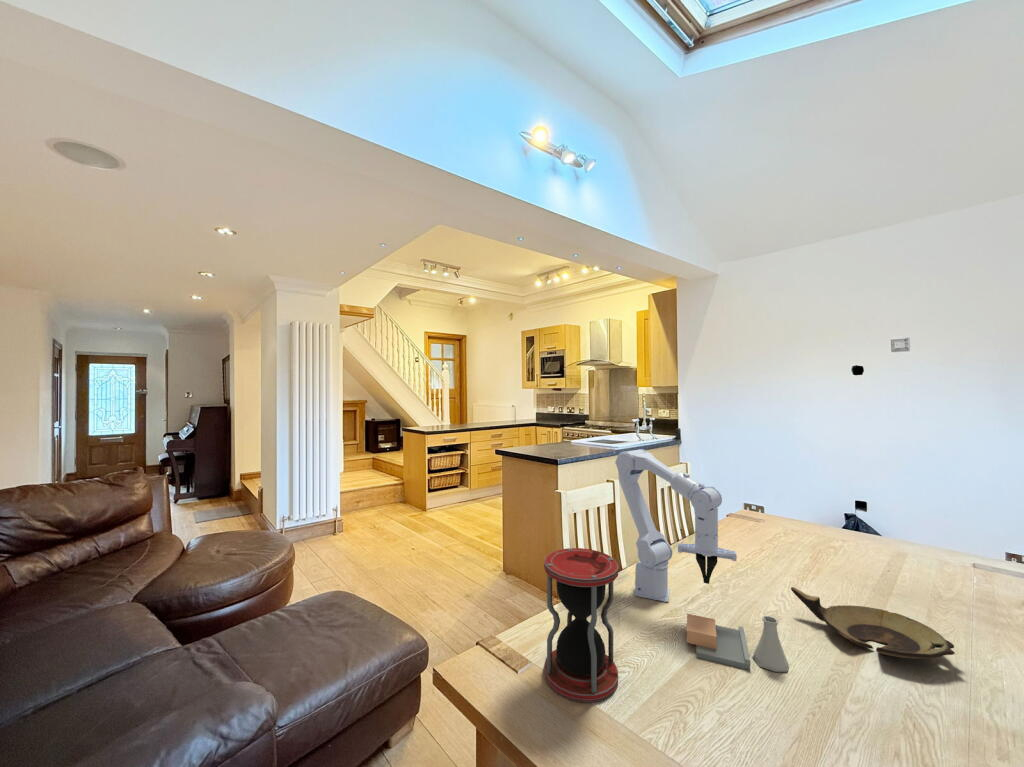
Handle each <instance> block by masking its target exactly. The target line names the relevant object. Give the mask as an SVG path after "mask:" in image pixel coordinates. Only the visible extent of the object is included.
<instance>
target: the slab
mask: <svg viewBox="0 0 1024 767" xmlns="http://www.w3.org/2000/svg"><path fill="white" fill-rule="evenodd" d="M715 625H716V619H715V618H711V617H710V618H709V617H705V616H700V615H696V614H691V613H687V614H686V643H688V644H691V645H700V646H704V647H708V648H712V649H717V636H716V626H715Z"/></svg>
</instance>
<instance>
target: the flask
mask: <svg viewBox="0 0 1024 767" xmlns="http://www.w3.org/2000/svg"><path fill="white" fill-rule="evenodd" d="M762 621H763V629H762V633H761V636H760V638H759V640H758V643H757V645H756V647H755V649H754V651H753V656H752V659H753V660H754V661H755V663H756V664H757V665H758V667H761V668H763V669H767V670H769V671H772V672H775V673H777V672H781V673H785V672H788V670H789V666H790V665H789V663H788V659H787V657H786V654H785V652H784V649H783V646H782V643H781V640H780V637H779V634H778V633H779V632H778V625H779V620H778V619H777V618H776V617H775V616H771V615H762Z"/></svg>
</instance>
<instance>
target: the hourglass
mask: <svg viewBox="0 0 1024 767" xmlns="http://www.w3.org/2000/svg"><path fill="white" fill-rule="evenodd" d="M543 562H544V563H543V568H544V571H545V573H546V574H547V577H546V583H547V584H546V587H547V588H546V591H547V592H546V594H547V595H546V598H547V599H546V607H547V608H548V611H549V612H550V614H551V615H552V618H553V626H552V628H551V630H550V631H549V633H548V635H547V638H546V657H545V661H544V664H543V674H544V679H545V681H546V682H547V684H548V686H549V687H550V688H551V690H553V691H555V693H557V694H558V695H559V696H561V697H563V698H566V699H568V700H570V701H573V702H579V703H597V702H600V701H603V700H605V699H607V698H609V697H610V696H611V695H613V694H614V693H615V692H616V690H617V688H618V686H619V670H618V668H617V665H616V662H614V630H613V626H612V624H611V623H610V622H609V621H608V612H609V609H610V608H611V606H612V604H613V601H614V581H615V580H616V579H617V578H618V577H619V563H618V562H617V561H616V559H615V558H613V557H612V556H610V555H608V554H606V553H604V552H602V551H599V550H595V549H591V548H583V547H582V548H581V547H568V548H563V549H562V548H561V549H557V550H555V551H552V552H550V553H549V554H547V555H546V556H545V559H544V561H543ZM553 580H555V581H556V584H555V585H556V592H557V595H558V598H559V601H560V602H561V604H562V605H563V607H565V608H566V610H568V612H567V614H566V615H567V616H566V617H567V618H566V626H565V627H564V628H562V629H561V632H559V635H558V638H557V642H556V648H555V649H554V650H553V640H554V637H555V635H556V634H557V632H558V631H559V628H560V624H561V618H560V615H559V613H558V611H556V610H555V606H554V605H553ZM607 585H608V591H607V592H608V597H607V599H606V602H605V603H604V600H605V596H606V588H607V587H606V586H607ZM603 603H604V605H603V606H602V604H603ZM601 606H602V608H601V612H600V619H601V622H602V624H603V625H604V627H605V628H606V630H607V632H608V633H607V634H608V636H607V637H608V638H607V639H608V644H607V645H608V647H607V648H608V649H607V651H608V652H607V653H608V655H607V654H606V646H605V645H606V644H605V643H604V641H603V639H602V636H601V634H600V633H599V631H598V630H597V629H596V626H597V622H598V620H597V618H598V617H597V616H598V614H597V613H598V612H597V611H598V609H599V608H600V607H601ZM590 616H591V618H590V622H589V621H588V618H589V617H590ZM573 617H574V619H573Z"/></svg>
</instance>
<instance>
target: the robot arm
mask: <svg viewBox="0 0 1024 767" xmlns="http://www.w3.org/2000/svg"><path fill="white" fill-rule="evenodd" d="M614 464H615V465H616V469H617V471H618V473H617V474H618V482H619V484H620V487H621V490H622V493H623V495H624V498H625V500H626V502H627V506H628V508H629V511H630V515H631V517H632V520H633V522H634V524H635V525H634V526H635V527H636V529H637V532H638V538H637V539H636V542H635V545H636V548H637V558H638V560H639V561H636V564H635V572H634V574H635V575H634V578H635V579H634V587H635V592H634V596H636V597H640V598H645V599H650V600H655V601H659V602H665V603H668V602H669V598H670V588H669V584H668V583H669V581H668V576H669V575H668V573H669V571H668V570H669V569H668V568H669V566H668V565H669V561H670V559H672V557H673V549H672V547H671V545H670V543H669V542H668V541H667V539H666V538H665V534H663V533H661V532H660V531H659V530H657V528H656V526H655V523H654V521H653V518H652V514H651V512H650V510H649V507H648V504H647V502H646V500H645V497H644V495H643V492H642V489H641V487H640V484H639V481H638V480H639V479H640V476H641V474H643V473H644V471H648V472H650V473H652V474H654V475H656V476H658V477H659V478H661V479H662V480H664V481H666V482H668V483H669V485H670V488H671V489H672V490H673V491H675V492H676V493H677V494H679V495H680V496H682V497H684V498H685V499H687V500H688V501H690V503H691V506H692V507H693V509H694V543H680V542H678V543H677V553H680V554H682V553H688V554H693V555H695V560H696V562H697V564H698V567H699V569H700V572H701V575H702V579H703V584H708V585H710V581H711V576H712V574H713V571H714V569H715V568H716V566H717V564H718V558H720V559H725V560H731V561H733V562H737V561H738V560H737V556H738V554H737V551H735V550H730V549H725V548H721V547H719V507H720V506H721V505H722V502H723V497H722V494H721V492H719V490H717V489H716V488H715V487H714V486H706V485H705V483H702V482H699V481H698V480H696V479H694V478H693V477H691V474H689V473H688V472H685V473H684V472H682V471H681V472H678V473H676V471H674V470H672V469H671V468H670V467H668V466H667V465H666V464H664V463H663V462H662V461H660V460H658V459H657V458H656V457H654V456H653V454H652V453H651V452H649V451H647V450H646V449H644V448H639V449H634V450H627V451H621V452H619V453H618V455H617V457H616V459H615V461H614Z"/></svg>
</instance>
